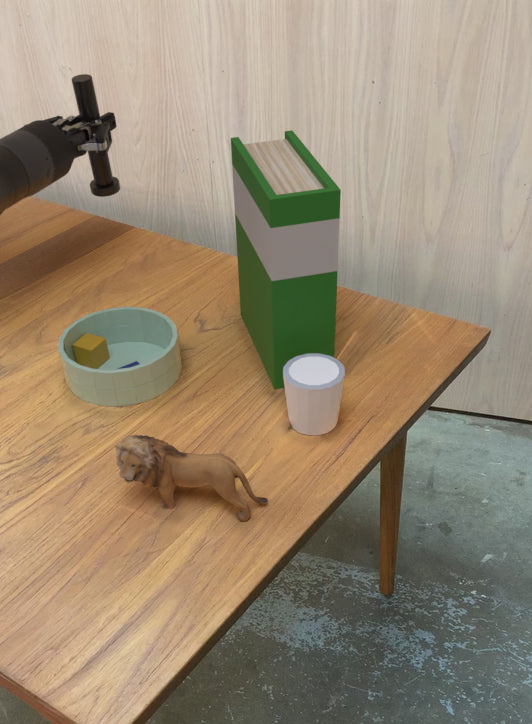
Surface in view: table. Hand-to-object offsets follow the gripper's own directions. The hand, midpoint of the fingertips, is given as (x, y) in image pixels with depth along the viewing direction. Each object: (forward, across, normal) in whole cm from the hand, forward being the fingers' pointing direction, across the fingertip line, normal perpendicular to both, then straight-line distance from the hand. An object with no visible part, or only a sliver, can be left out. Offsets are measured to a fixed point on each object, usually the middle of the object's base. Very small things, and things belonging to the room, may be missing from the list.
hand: (102, 118), depth 113 cm
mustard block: (-31, -16, +18) cm, 40 cm away
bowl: (-32, -21, +19) cm, 42 cm away
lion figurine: (-49, -40, +19) cm, 66 cm away
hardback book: (-19, -37, +19) cm, 45 cm away
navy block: (-35, -24, +18) cm, 46 cm away
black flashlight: (-2, 0, +10) cm, 10 cm away
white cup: (-31, -46, +19) cm, 58 cm away
